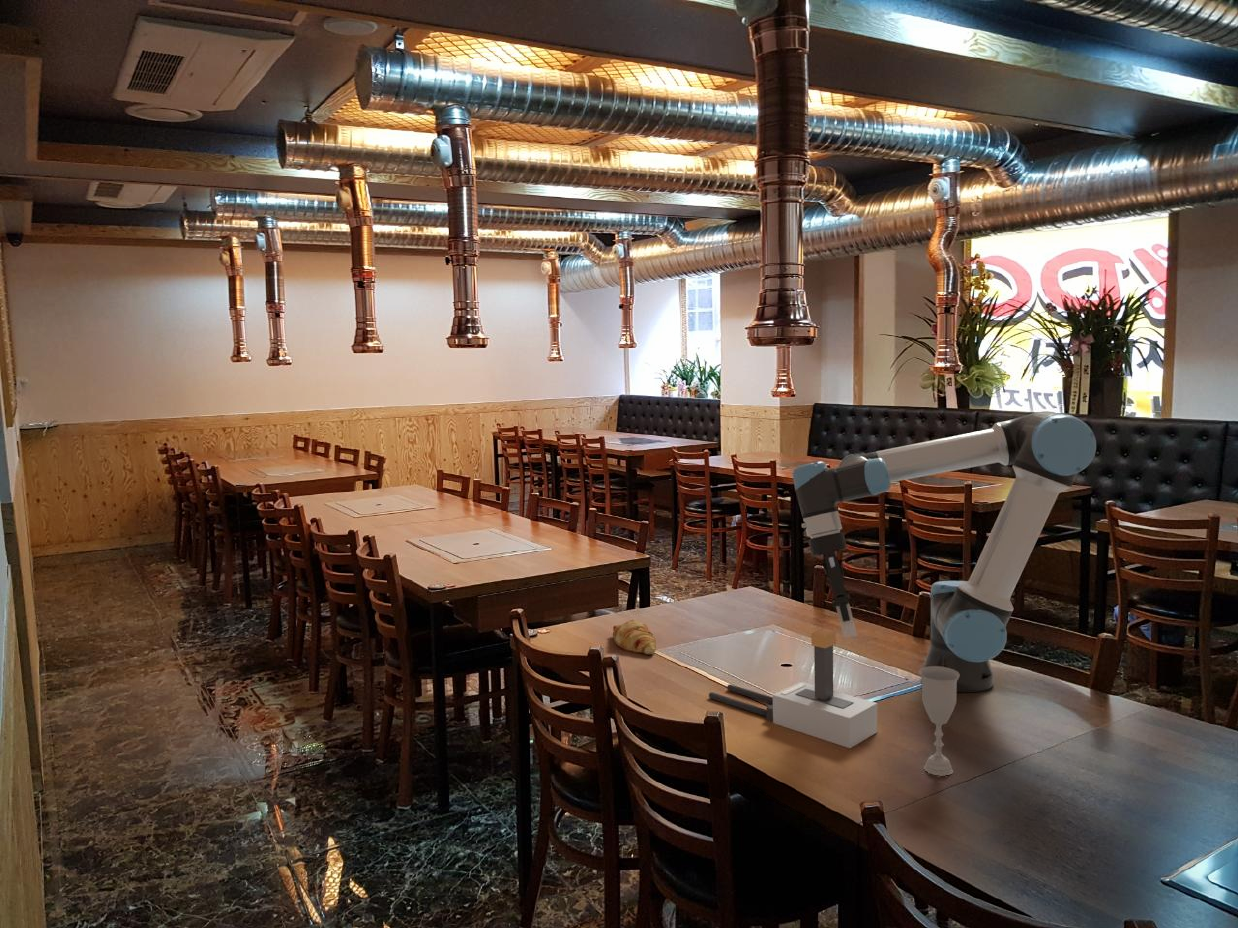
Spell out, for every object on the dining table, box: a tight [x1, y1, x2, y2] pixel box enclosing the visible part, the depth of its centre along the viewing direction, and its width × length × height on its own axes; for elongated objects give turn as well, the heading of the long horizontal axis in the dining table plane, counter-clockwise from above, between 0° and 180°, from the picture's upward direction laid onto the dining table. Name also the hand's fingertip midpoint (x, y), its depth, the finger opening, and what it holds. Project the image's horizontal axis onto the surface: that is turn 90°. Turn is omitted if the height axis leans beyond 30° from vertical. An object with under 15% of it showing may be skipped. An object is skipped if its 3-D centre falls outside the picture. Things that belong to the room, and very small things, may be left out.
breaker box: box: [772, 681, 878, 749], centre depth 177 cm, size 18×10×6 cm, turn 44°
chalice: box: [918, 666, 960, 777], centre depth 156 cm, size 7×7×18 cm
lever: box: [810, 629, 837, 700], centre depth 175 cm, size 3×4×13 cm
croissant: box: [612, 619, 657, 655], centre depth 232 cm, size 21×10×8 cm, turn 28°
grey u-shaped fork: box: [708, 684, 773, 722], centre depth 190 cm, size 19×9×3 cm, turn 44°
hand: (849, 633), depth 183 cm, fingers open, 13 cm apart
